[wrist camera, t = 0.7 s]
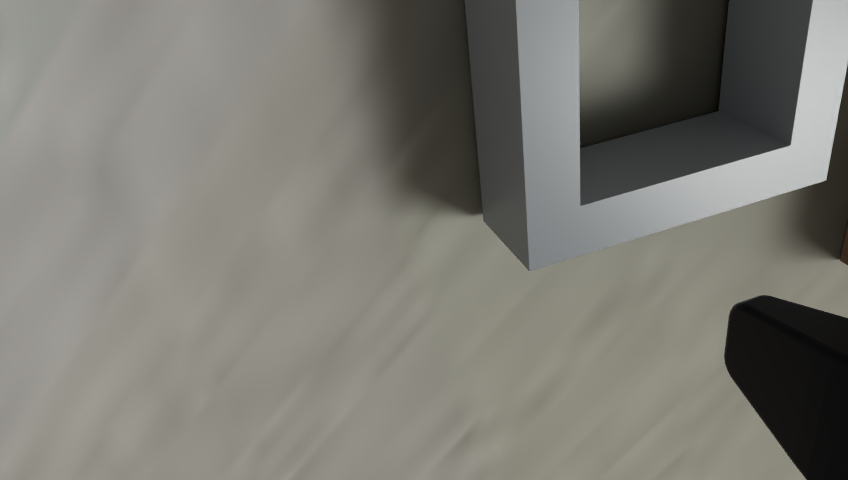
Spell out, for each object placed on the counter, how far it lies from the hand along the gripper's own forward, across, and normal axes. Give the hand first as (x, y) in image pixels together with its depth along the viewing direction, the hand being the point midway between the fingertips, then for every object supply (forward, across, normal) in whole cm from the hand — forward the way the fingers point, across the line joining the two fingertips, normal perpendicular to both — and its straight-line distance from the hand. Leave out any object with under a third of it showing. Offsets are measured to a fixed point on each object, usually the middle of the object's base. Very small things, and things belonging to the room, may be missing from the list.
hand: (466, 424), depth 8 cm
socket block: (+12, -10, 0) cm, 16 cm away
